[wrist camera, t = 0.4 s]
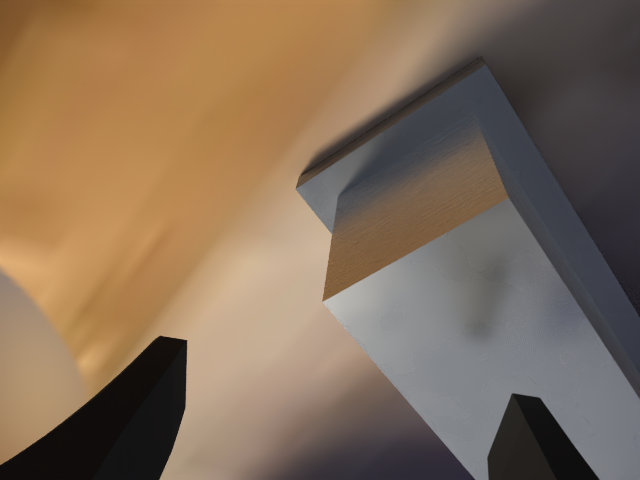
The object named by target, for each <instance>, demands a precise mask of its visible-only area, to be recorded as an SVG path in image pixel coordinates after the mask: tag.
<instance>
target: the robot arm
mask: <svg viewBox="0 0 640 480" xmlns="http://www.w3.org/2000/svg"><path fill="white" fill-rule="evenodd" d="M186 365H187V340H182V339H176V338H170V337H164V336H159V337H158V338H156V339H155V340H154V341H153V342H152V343H151V344H150V345H149V346H148V347H147V348H146V349H145V350H144V351H143V352H142V353H141V354H140V355H139V356H138V357H137V358H136V359H135V360H134V361H133V362H132V363H131V364H130V365H128V366H127V367H126V368H125V369H124V370H123V371H122V372H121V373H120V374H119V375H118V376H117V377H116V378H114V379H113V380H112V381H111V382H110V383H109V384H108V385H107V386H106V387H104V388H103V389H102V390H101V391H100V392H99V393H98V394H97V395H95V396H94V397H93V398H92V399H91V400H90V401H88V402H87V403H86V404H85V405H83V406H82V407H81V408H80V409H78V410H77V411H76V412H75V413H74V414H72V415H71V416H70V417H68V418H67V419H66V420H65V421H64V422H62V423H61V424H60V425H58V426H57V427H56V428H54V429H53V430H52V431H50V432H49V433H48V434H47V435H45V436H44V437H42V438H41V439H39V440H38V441H36V442H35V443H34V444H32V445H31V446H29V447H28V448H26V449H25V450H24V451H22V452H20V453H19V454H18V455H16V456H14V457H13V458H11V459H9V460H8V461H6V462H5V463H3V464H2V465H0V480H159V479H160V477H161V474H162V472H163V470H164V468H165V465H166V463H167V461H168V459H169V456H170V454H171V452H172V449H173V446H174V443H175V440H176V437H177V434H178V430H179V427H180V424H181V421H182V417H183V414H184V411H185V403H186ZM487 462H488V478H489V480H600V479H599V478H598V477H597V475H596V474H595V473H594V471H593V470H592V469H591V467H590V466H589V465H588V463H587V462H586V461H585V459H584V458H583V457H582V455H581V454H580V453H579V451H578V450H577V449H576V447H575V446H574V444H573V443H572V442H571V440H570V439H569V437H568V436H567V435H566V433H565V432H564V431H563V429H562V428H561V426H560V425H559V423H558V422H557V421H556V419H555V418H554V416H553V415H552V414H551V412H550V411H549V409H548V408H547V407H546V405H545V404H544V402H543V401H542V400H541V398H540V397H533V396H527V395H521V394H515V393H512V394H511V397H510V400H509V402H508V405H507V407H506V410H505V413H504V415H503V418H502V420H501V423H500V426H499V428H498V431H497V433H496V436H495V439H494V441H493V444H492V446H491V449H490V451H489V454H488V457H487Z"/></svg>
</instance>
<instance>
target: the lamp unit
mask: <svg viewBox="0 0 640 480" xmlns="http://www.w3.org/2000/svg"><path fill="white" fill-rule="evenodd" d="M296 190H297V191H298V193H299V194H300V195H301V196H302V198H303V199H304V200H305V201H306V203H307V204H308V205H309V206H310V208H311V209H312V210H313V211H314V212H315V214H316V215H317V216H318V217H319V219H320V220H321V221H322V222H323V224H324V225H325V226H326V227H327V229H328V230H329V231H330V232H331V234H332V240H331V247H330V254H329V261H328V267H327V274H326V281H325V288H324V294H323V301H322V302H323V303H324V305H325V306H326V307H327V308H328V309H329V310H330V312H331V313H332V314H333V315H334V316H335V317H336V318H337V320H338V321H339V322H340V323H341V324H342V325H343V327H344V328H345V329H346V330H347V331H348V332H349V334H350V335H351V336H352V337H353V338H354V339H355V341H356V342H357V343H358V344H359V345H360V346H361V347H362V349H363V350H364V351H365V352H366V353H367V354H368V356H369V357H370V358H371V359H372V360H373V361H374V363H375V364H376V365H377V366H378V367H379V368H380V370H381V371H382V372H383V373H384V374H385V375H386V377H387V378H388V379H389V380H390V381H391V382H392V383H393V385H394V386H395V387H396V388H397V389H398V390H399V392H400V393H401V394H402V395H403V396H404V397H405V399H406V400H407V401H408V402H409V403H410V404H411V406H412V407H413V408H414V409H415V410H416V411H417V412H418V414H419V415H420V416H421V417H422V418H423V419H424V421H425V422H426V423H427V424H428V425H429V426H430V428H431V429H432V430H433V431H434V432H435V433H436V435H437V436H438V437H439V438H440V439H441V440H442V441H443V443H444V444H445V445H446V446H447V447H448V448H449V450H450V451H451V452H452V453H453V454H454V455H455V457H456V458H457V459H458V460H459V461H460V462H461V464H462V465H463V466H464V467H465V468H466V469H467V471H468V472H469V473H470V474H471V475H472V476H473V477H474V479H475V480H489V478H488V462H487V457H488V454H489V451H490V449H491V446H492V444H493V441H494V439H495V436H496V433H497V431H498V428H499V426H500V423H501V420H502V418H503V415H504V413H505V410H506V407H507V405H508V402H509V400H510V397H511V394H512V393H515V394H521V395H527V396H533V397H540V398H541V400H542V401H543V402H544V404H545V405H546V407H547V408H548V409H549V411H550V412H551V414H552V415H553V416H554V418H555V419H556V421H557V422H558V423H559V425H560V426H561V428H562V429H563V431H564V432H565V433H566V435H567V436H568V437H569V439H570V440H571V442H572V443H573V444H574V446H575V447H576V449H577V450H578V451H579V453H580V454H581V455H582V457H583V458H584V459H585V461H586V462H587V463H588V465H589V466H590V467H591V469H592V470H593V471H594V473H595V474H596V475H597V477H598V478H599V479H600V480H640V317H639V315H638V314H637V312H636V310H635V309H634V307H633V305H632V304H631V302H630V300H629V299H628V297H627V296H626V294H625V292H624V291H623V289H622V287H621V286H620V284H619V282H618V281H617V279H616V277H615V276H614V274H613V272H612V271H611V269H610V267H609V266H608V264H607V263H606V261H605V259H604V258H603V256H602V254H601V253H600V251H599V249H598V248H597V246H596V244H595V243H594V241H593V239H592V238H591V236H590V234H589V233H588V231H587V230H586V228H585V226H584V225H583V223H582V221H581V220H580V218H579V216H578V215H577V213H576V211H575V210H574V208H573V206H572V205H571V203H570V202H569V200H568V198H567V197H566V195H565V193H564V192H563V190H562V188H561V187H560V185H559V183H558V182H557V180H556V178H555V177H554V175H553V173H552V172H551V170H550V169H549V167H548V165H547V164H546V162H545V160H544V159H543V157H542V155H541V154H540V152H539V150H538V149H537V147H536V145H535V144H534V142H533V140H532V139H531V137H530V136H529V134H528V132H527V131H526V129H525V127H524V126H523V124H522V122H521V121H520V119H519V117H518V116H517V114H516V112H515V111H514V109H513V107H512V106H511V104H510V103H509V101H508V99H507V98H506V96H505V94H504V93H503V91H502V89H501V88H500V86H499V84H498V83H497V81H496V79H495V78H494V76H493V75H492V73H491V71H490V70H489V68H488V66H487V65H486V63H485V61H484V60H483V58H482V56H481V57H480V58H478V59H476V60H475V61H473V62H472V63H470V64H469V65H467V66H466V67H464V68H463V69H461V70H460V71H458V72H457V73H455V74H454V75H452V76H451V77H449V78H448V79H446V80H445V81H443V82H442V83H440V84H439V85H437V86H436V87H434V88H433V89H431V90H430V91H428V92H427V93H425V94H424V95H422V96H421V97H419V98H418V99H416V100H415V101H413V102H412V103H410V104H408V105H407V106H405V107H404V108H402V109H401V110H399V111H398V112H396V113H395V114H393V115H392V116H390V117H389V118H387V119H386V120H384V121H383V122H381V123H380V124H378V125H377V126H375V127H374V128H372V129H371V130H369V131H368V132H366V133H365V134H363V135H362V136H360V137H359V138H357V139H356V140H354V141H353V142H351V143H350V144H348V145H347V146H345V147H344V148H342V149H340V150H339V151H337V152H336V153H334V154H333V155H331V156H330V157H328V158H327V159H325V160H324V161H322V162H321V163H319V164H318V165H316V166H315V167H313V168H312V169H310V170H309V171H307V172H306V173H304V174H303V175H301V176H300V177H299V179H298V183H297V186H296Z"/></svg>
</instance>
